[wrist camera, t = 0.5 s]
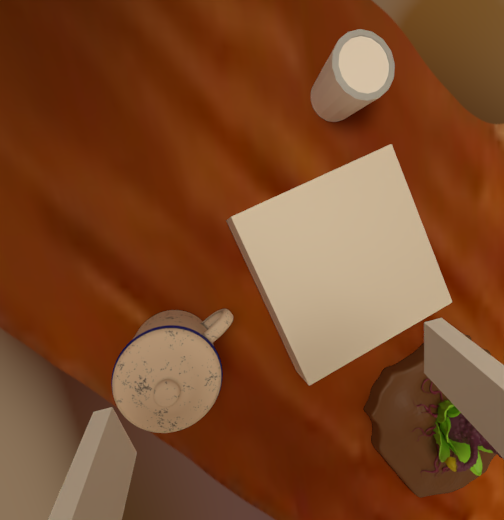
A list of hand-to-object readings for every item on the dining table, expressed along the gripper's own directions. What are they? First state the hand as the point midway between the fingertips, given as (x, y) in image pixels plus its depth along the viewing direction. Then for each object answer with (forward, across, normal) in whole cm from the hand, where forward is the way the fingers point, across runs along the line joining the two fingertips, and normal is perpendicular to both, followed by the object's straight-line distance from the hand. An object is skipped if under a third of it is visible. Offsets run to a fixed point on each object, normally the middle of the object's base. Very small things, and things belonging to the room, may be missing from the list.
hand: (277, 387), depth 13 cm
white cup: (+30, +16, +11) cm, 36 cm away
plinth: (+24, +11, -7) cm, 27 cm away
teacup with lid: (+20, -8, -10) cm, 24 cm away
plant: (+18, +20, -30) cm, 41 cm away
